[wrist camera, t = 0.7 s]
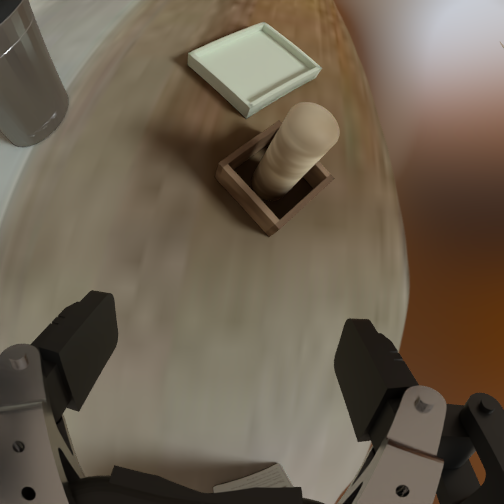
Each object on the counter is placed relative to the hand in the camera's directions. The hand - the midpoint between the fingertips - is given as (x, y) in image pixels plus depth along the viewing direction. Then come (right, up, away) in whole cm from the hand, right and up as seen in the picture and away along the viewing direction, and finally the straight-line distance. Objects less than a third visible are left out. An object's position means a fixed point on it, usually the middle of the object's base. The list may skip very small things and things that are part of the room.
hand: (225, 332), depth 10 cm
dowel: (+3, +10, +22) cm, 24 cm away
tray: (+1, +26, +24) cm, 35 cm away
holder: (+3, +10, +22) cm, 24 cm away
